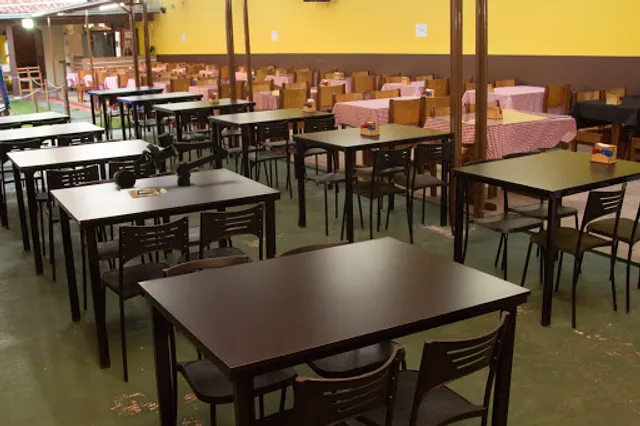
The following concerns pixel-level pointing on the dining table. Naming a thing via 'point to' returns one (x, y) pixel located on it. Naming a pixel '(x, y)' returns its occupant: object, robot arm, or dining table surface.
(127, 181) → the black cylinder
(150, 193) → the board
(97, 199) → the dining table surface
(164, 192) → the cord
